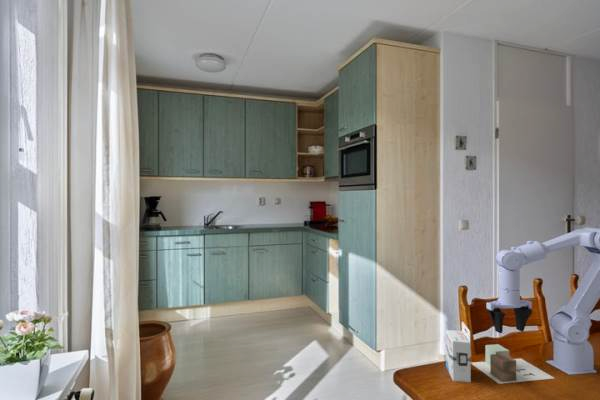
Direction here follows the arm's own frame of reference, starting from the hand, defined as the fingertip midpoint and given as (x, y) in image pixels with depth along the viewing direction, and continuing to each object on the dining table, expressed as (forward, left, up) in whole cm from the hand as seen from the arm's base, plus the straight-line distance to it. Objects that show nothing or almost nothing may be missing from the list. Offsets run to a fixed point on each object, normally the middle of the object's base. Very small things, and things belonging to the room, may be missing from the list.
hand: (509, 331), depth 104 cm
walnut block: (+9, +8, -10) cm, 15 cm away
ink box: (+21, +5, -10) cm, 24 cm away
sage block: (+6, +2, -10) cm, 11 cm away
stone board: (+4, +5, -10) cm, 12 cm away
